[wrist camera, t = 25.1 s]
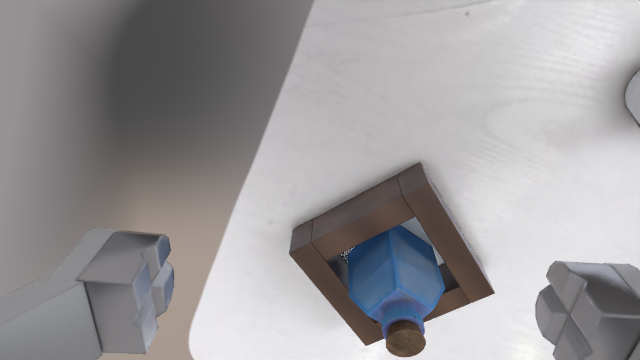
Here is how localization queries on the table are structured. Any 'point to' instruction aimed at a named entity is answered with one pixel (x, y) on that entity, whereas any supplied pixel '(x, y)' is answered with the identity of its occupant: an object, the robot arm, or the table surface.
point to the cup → (634, 97)
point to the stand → (373, 219)
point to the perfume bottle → (396, 286)
